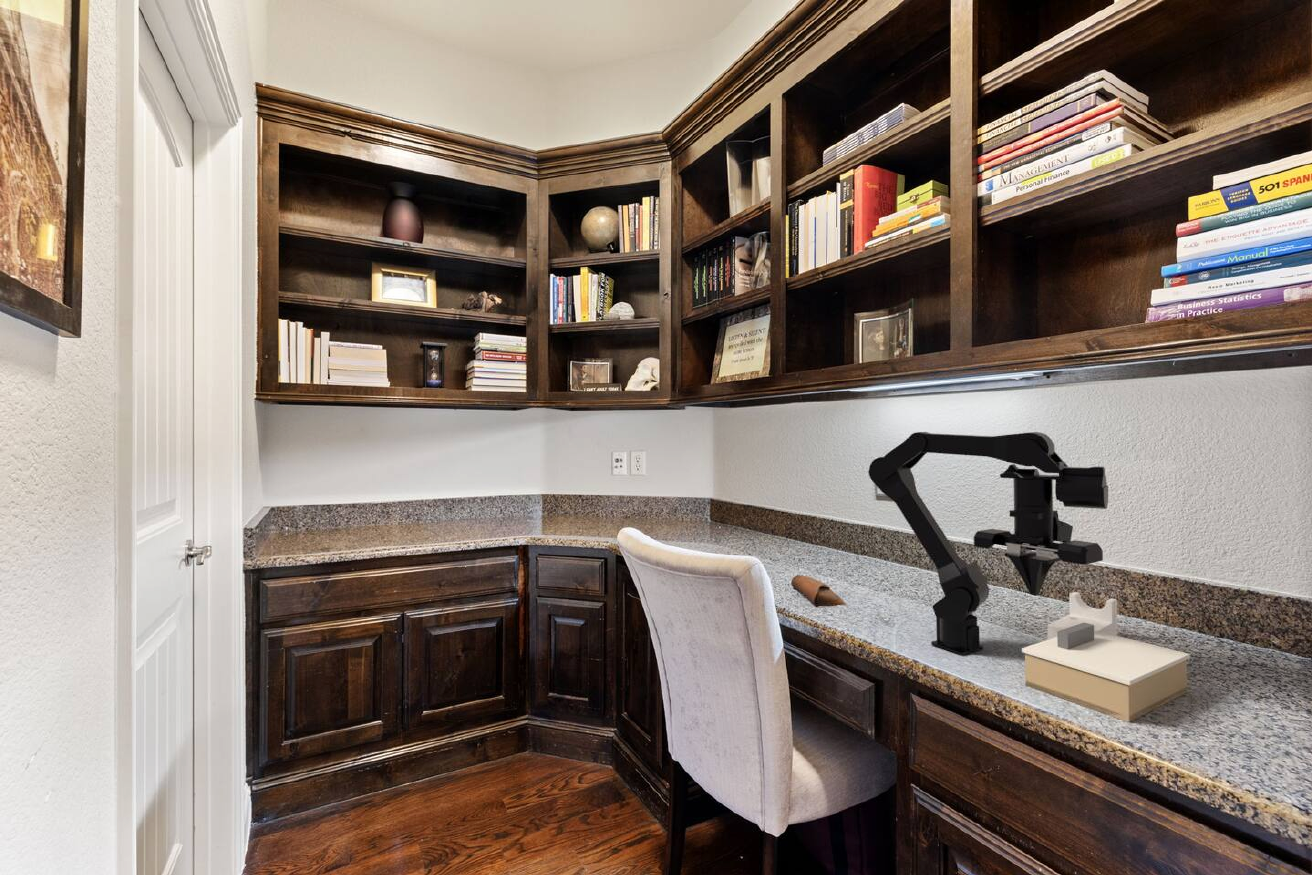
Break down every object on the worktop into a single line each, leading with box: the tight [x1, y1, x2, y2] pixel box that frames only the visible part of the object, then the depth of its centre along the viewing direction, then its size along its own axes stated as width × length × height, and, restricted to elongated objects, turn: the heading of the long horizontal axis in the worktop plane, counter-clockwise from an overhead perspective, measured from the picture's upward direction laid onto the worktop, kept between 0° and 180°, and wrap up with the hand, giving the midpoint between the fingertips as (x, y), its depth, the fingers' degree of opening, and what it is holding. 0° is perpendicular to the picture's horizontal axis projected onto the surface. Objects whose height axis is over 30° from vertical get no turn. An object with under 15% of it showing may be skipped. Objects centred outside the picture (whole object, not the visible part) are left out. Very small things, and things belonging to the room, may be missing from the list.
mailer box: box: [1024, 653, 1188, 723], centre depth 94 cm, size 14×18×5 cm
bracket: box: [1046, 591, 1118, 640], centre depth 115 cm, size 13×7×8 cm, turn 126°
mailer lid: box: [1021, 623, 1191, 685], centre depth 93 cm, size 15×19×3 cm
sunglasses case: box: [790, 574, 847, 608], centre depth 148 cm, size 18×7×7 cm
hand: (1034, 594), depth 103 cm, fingers closed
